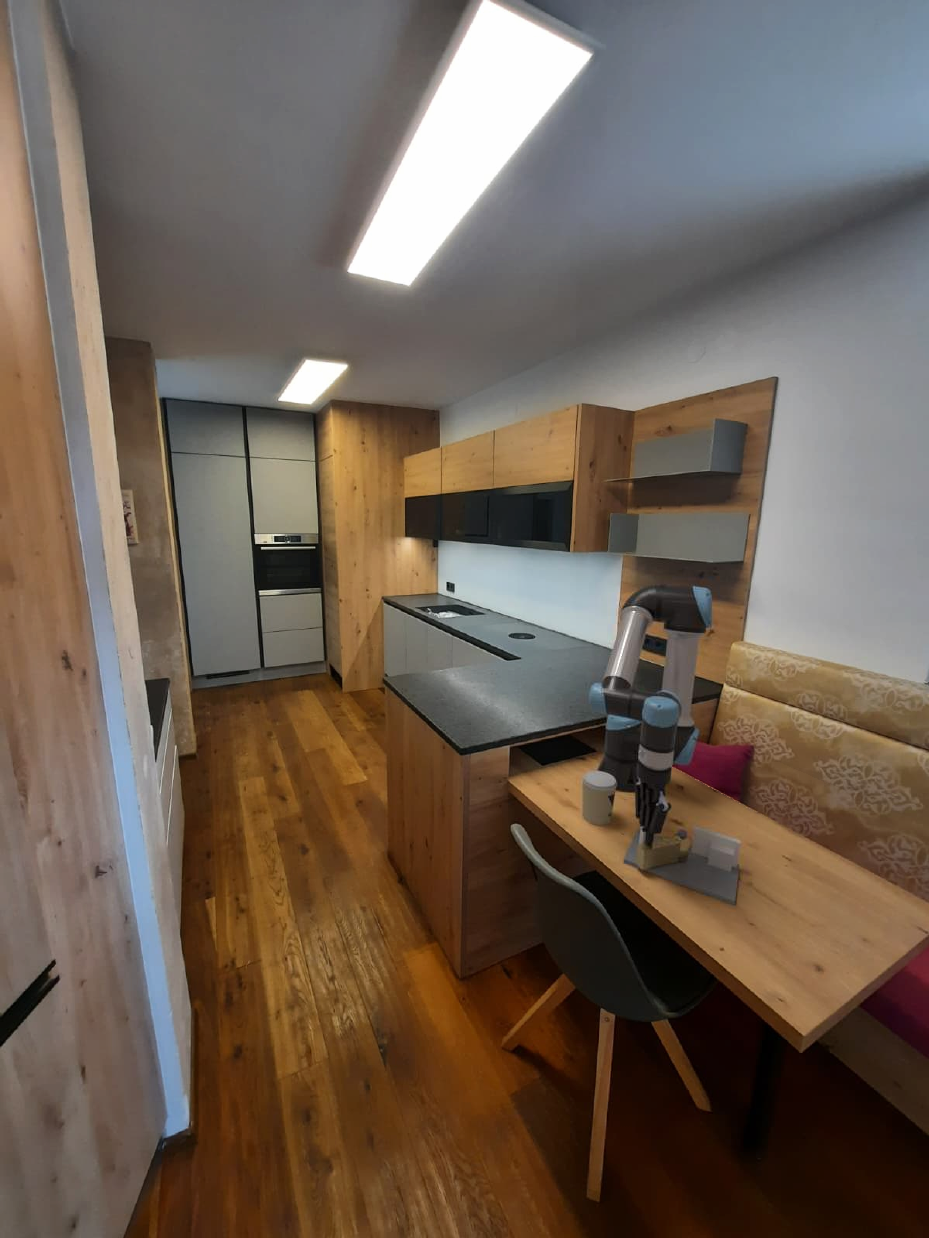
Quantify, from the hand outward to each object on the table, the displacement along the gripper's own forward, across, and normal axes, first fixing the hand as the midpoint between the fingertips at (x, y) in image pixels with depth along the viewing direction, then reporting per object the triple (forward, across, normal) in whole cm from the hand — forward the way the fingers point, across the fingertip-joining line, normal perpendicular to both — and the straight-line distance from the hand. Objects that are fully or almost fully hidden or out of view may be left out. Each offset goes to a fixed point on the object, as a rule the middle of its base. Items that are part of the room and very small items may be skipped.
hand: (644, 851), depth 117 cm
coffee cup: (+4, -20, -3) cm, 20 cm away
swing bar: (+2, +2, +4) cm, 5 cm away
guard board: (+3, +2, +9) cm, 10 cm away
